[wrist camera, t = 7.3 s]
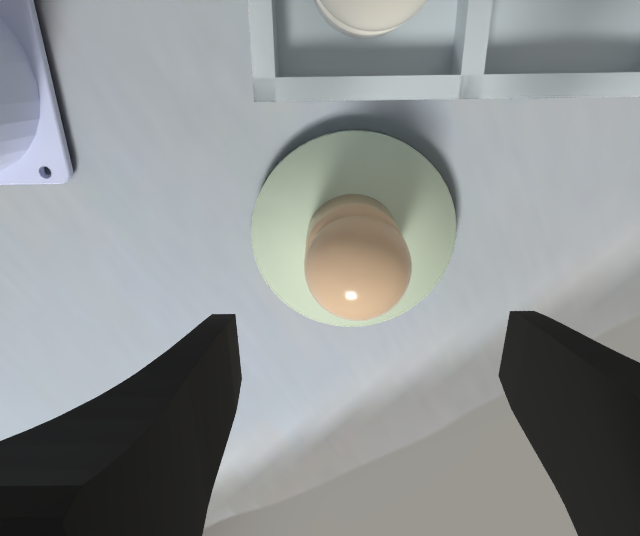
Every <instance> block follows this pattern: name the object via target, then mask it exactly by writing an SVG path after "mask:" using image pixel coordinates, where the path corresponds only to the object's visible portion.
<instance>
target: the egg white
mask: <svg viewBox="0 0 640 536" xmlns="http://www.w3.org/2000/svg"><path fill="white" fill-rule="evenodd" d="M428 1H429V0H314V2H315V4H316V7H317V9H318V11H319V12H320V14H321V16H322V17H323V18H324V19H325V21H326V22H327V23H328V24H329V25H330V26H331V27H332V28H334V29H335V30H336V31H338V32H339V33H341V34H343V35H345V36H348V37H351V38H356V39H373V38H377V37H380V36H383V35H385V34H387V33H389V32H391V31H393V30H394V29H396V28H397V27H399V26H400V25H402V24H403V23H405V22H406V21H408V20H409V19H411V18H412V17H413V16H415V15H416V14H417V13H418V12H419V11H420V10H421V9H422V8H423V7H424V5H425V4H426V3H427V2H428Z"/></svg>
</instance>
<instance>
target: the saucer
mask: <svg viewBox="0 0 640 536" xmlns="http://www.w3.org/2000/svg"><path fill="white" fill-rule="evenodd" d="M346 194H361V195H366V196H369V197H371V198H373V199H375V200H377V201H379V202H380V203H382V204H383V205H384V206H385V207H386V208H387V209H388V210H389V212H390V213H391V215H392V216H393V218H394V220H395V222H396V224H397V226H398V228H399V230H400V232H401V234H402V236H403V238H404V240H405V242H406V244H407V246H408V248H409V252H410V255H411V261H412V273H411V279H410V282H409V286H408V288H407V290H406V292H405V294H404V296H403V297H402V299H401V300H400V301H399V302H398V304H396V305H395V306H394V307H393V308H392V309H391V310H390V311H388V312H387V313H385V314H383V315H381V316H379V317H377V318H373V319H370V320H364V321H352V320H346V319H343V318H339V317H337V316H335V315H333V314H331V313H329V312H328V311H326V310H325V309H324V308H322V307H321V306H320V305H319V304H318V303H317V301H316V300H315V299H314V298H313V296H312V294H311V293H310V291H309V289H308V286H307V283H306V280H305V274H304V258H305V248H306V237H307V230H308V226H309V223H310V221H311V219H312V217H313V215H314V214H315V212H316V211H317V210H318V209H319V208H320V207H321V206H322V205H323V204H324V203H326V202H327V201H329V200H331V199H333V198H335V197H338V196H341V195H346ZM455 239H456V215H455V209H454V205H453V201H452V197H451V195H450V192H449V190H448V187H447V185H446V184H445V182H444V180H443V179H442V177H441V175H440V174H439V173H438V171H437V170H436V169H435V167H434V166H433V165H432V164H431V163H430V162H429V161H428V160H427V159H426V158H425V157H424V156H423V155H422V154H420V153H419V152H418V151H416V150H415V149H413V148H412V147H411V146H409V145H408V144H406V143H404V142H402V141H400V140H398V139H396V138H394V137H391V136H388V135H385V134H383V133H378V132H373V131H367V130H345V131H337V132H332V133H328V134H324V135H322V136H319V137H316V138H313V139H311V140H309V141H308V142H306V143H304V144H302V145H300V146H299V147H297V148H296V149H294V150H293V151H292V152H290V153H289V154H288V155H287V156H286V157H285V158H284V159H283V160H281V161H280V162H279V163H278V165H277V166H276V167H275V168H274V170H273V171H272V172H271V173H270V175H269V177H268V178H267V180H266V182H265V183H264V185H263V187H262V189H261V191H260V193H259V196H258V198H257V200H256V204H255V207H254V211H253V216H252V224H251V241H252V248H253V253H254V256H255V260H256V263H257V266H258V268H259V270H260V272H261V275H262V276H263V278H264V280H265V281H266V283H267V284H268V286H269V287H270V288H271V290H272V291H273V292H274V293H275V294H276V295H277V296H278V297H279V298H280V299H281V300H282V301H283V302H284V303H285V304H286V305H288V306H289V307H291V308H292V309H293V310H295V311H297V312H298V313H300V314H302V315H304V316H306V317H308V318H310V319H313V320H315V321H318V322H322V323H325V324H330V325H336V326H349V327H354V326H366V325H372V324H377V323H380V322H383V321H387V320H389V319H392V318H394V317H396V316H399V315H401V314H402V313H404V312H406V311H408V310H409V309H411V308H412V307H414V306H415V305H416V304H418V303H419V302H420V301H422V300H423V299H424V298H425V297H426V296H427V295H428V294H429V293H430V292H431V291H432V289H433V288H434V287H435V286H436V285H437V283H438V282H439V280H440V279H441V277H442V276H443V274H444V272H445V270H446V268H447V266H448V264H449V262H450V259H451V256H452V253H453V250H454V244H455Z"/></svg>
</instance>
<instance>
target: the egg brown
mask: <svg viewBox="0 0 640 536" xmlns="http://www.w3.org/2000/svg"><path fill="white" fill-rule="evenodd" d="M411 273H412V261H411V255H410V252H409V248H408V246H407V244H406V242H405V240H404V238H403V236H402V234H401V232H400V230H399V228H398V226H397V224H396V222H395V220H394V218H393V216H392V215H391V213H390V212H389V210H388V209H387V208H386V207H385V206H384V205H383V204H382V203H380V202H379V201H377V200H375V199H373V198H371V197H369V196H366V195H361V194H346V195H341V196H338V197H335V198H333V199H331V200H329V201H327V202H326V203H324V204H323V205H322V206H321V207H320V208H319V209H318V210H317V211H316V212H315V214H314V215H313V217H312V219H311V221H310V223H309V226H308V230H307V237H306V248H305V258H304V274H305V280H306V283H307V286H308V289H309V291H310V293H311V294H312V296H313V298H314V299H315V300H316V301H317V303H318V304H319V305H320V306H321V307H322V308H324V309H325V310H326V311H328V312H329V313H331V314H333V315H335V316H337V317H339V318H343V319H346V320H352V321H364V320H370V319H373V318H377V317H379V316H381V315H383V314H385V313H387V312H388V311H390V310H391V309H392V308H393V307H394V306H395V305H396V304H398V302H399V301H400V300H401V299H402V297H403V296H404V294H405V292H406V290H407V288H408V286H409V282H410V279H411Z"/></svg>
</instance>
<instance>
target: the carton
mask: <svg viewBox="0 0 640 536" xmlns="http://www.w3.org/2000/svg"><path fill="white" fill-rule="evenodd" d="M248 15H249V30H250V45H251V60H252V74H253V89H254V102H281V101H354V100H426V99H498V98H571V97H640V0H429V1H428V2H427V3H426V4H425V5H424V7H423V8H422V9H421V10H420V11H419V12H418V13H417V14H416V15H415V16H413V17H412V18H411V19H409V20H408V21H406V22H405V23H403V24H402V25H400V26H399V27H397V28H396V29H394V30H393V31H391V32H389V33H387V34H385V35H383V36H380V37H377V38H373V39H356V38H351V37H348V36H345V35H343V34H341V33H339V32H338V31H336V30H335V29H334V28H332V27H331V26H330V25H329V24H328V23H327V22H326V21H325V19H324V18H323V17H322V16H321V14H320V12H319V11H318V9H317V7H316V4H315V2H314V0H248Z"/></svg>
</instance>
